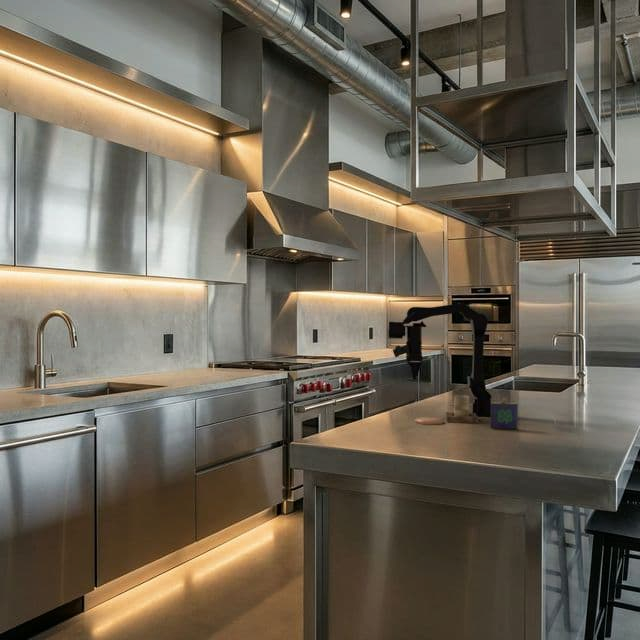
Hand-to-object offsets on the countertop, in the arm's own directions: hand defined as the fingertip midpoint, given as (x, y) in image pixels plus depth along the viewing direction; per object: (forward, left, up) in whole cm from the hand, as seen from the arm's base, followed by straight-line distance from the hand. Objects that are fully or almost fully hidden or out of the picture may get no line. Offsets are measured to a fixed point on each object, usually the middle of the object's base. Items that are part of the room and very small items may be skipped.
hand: (414, 378), depth 246 cm
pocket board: (-17, +13, -14) cm, 26 cm away
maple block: (-17, +13, -14) cm, 26 cm away
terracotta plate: (-5, +20, -14) cm, 25 cm away
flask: (-30, +29, -14) cm, 44 cm away
